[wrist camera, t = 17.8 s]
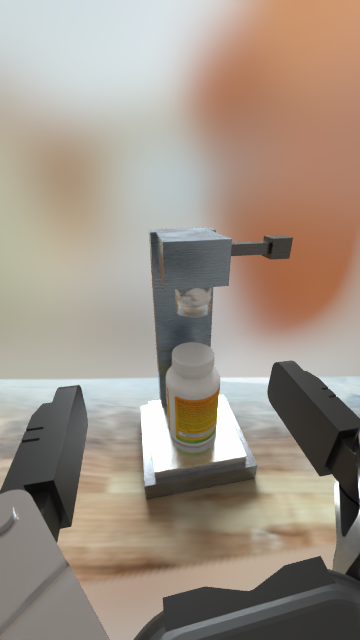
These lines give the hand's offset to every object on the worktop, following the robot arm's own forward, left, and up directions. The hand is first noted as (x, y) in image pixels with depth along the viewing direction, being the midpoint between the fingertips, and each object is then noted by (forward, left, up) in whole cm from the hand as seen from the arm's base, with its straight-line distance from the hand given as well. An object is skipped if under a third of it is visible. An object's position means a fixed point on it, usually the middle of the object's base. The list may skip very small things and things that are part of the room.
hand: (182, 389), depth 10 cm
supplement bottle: (+3, +11, -16) cm, 20 cm away
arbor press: (+5, +12, -19) cm, 23 cm away
